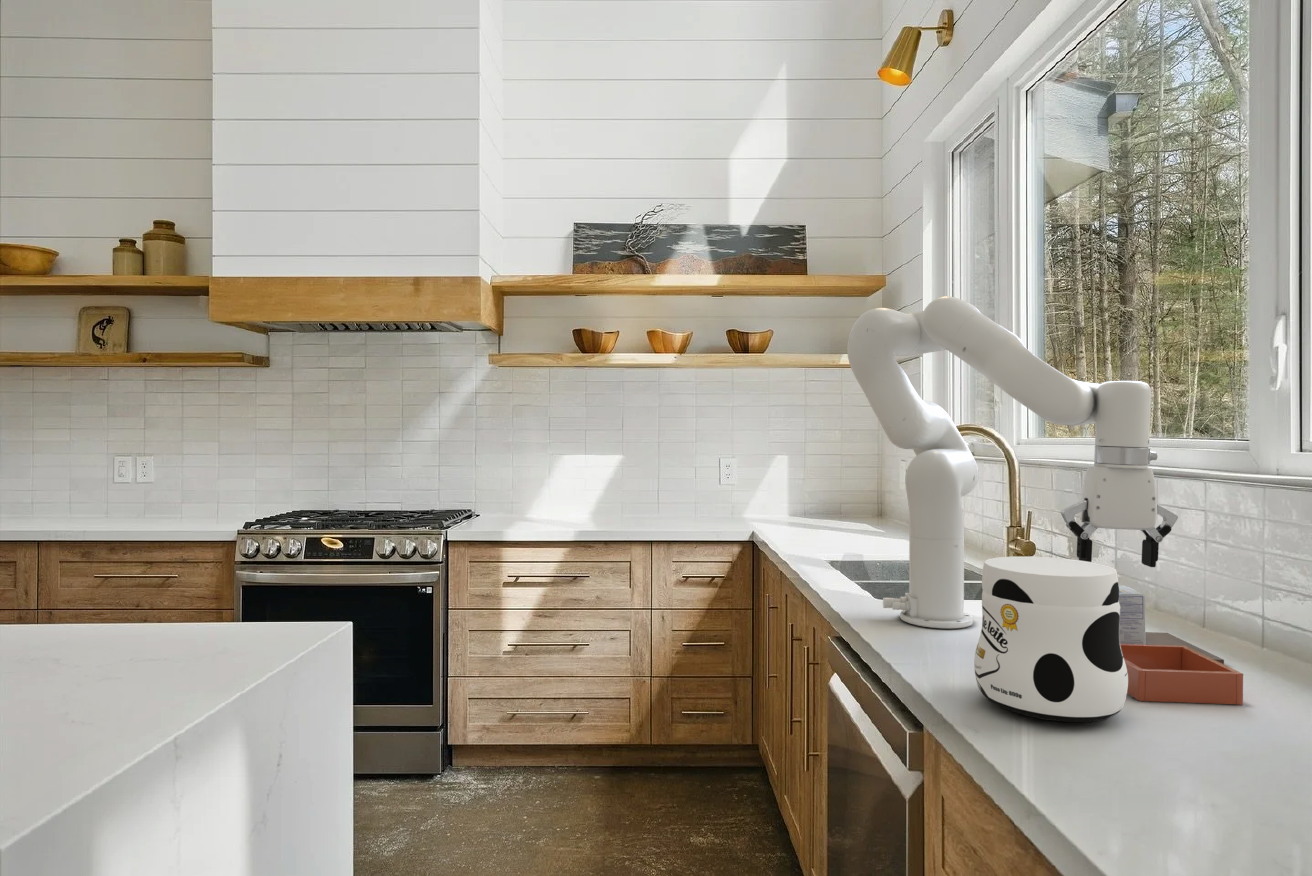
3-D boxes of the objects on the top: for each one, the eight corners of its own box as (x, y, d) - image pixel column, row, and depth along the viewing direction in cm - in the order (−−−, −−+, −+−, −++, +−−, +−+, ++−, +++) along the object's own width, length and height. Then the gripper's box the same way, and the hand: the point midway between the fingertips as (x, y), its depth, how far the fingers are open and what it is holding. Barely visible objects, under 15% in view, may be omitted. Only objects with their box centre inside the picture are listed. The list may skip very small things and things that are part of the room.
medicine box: (1146, 650, 123) (1146, 594, 123) (1114, 648, 124) (1115, 593, 124) (1126, 637, 131) (1126, 584, 131) (1097, 636, 132) (1097, 583, 132)
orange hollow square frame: (1138, 700, 103) (1138, 670, 103) (1092, 669, 116) (1092, 642, 116) (1243, 704, 101) (1243, 673, 101) (1184, 672, 115) (1184, 645, 115)
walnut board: (1069, 661, 121) (1069, 654, 121) (1031, 634, 137) (1031, 628, 137) (1224, 666, 118) (1224, 659, 118) (1167, 638, 134) (1167, 632, 134)
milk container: (944, 696, 105) (945, 559, 104) (1040, 679, 111) (1040, 551, 111) (1057, 743, 89) (1058, 582, 88) (1161, 721, 96) (1162, 572, 95)
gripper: (1166, 458, 130) (1161, 562, 130) (1055, 455, 132) (1051, 557, 132) (1191, 461, 123) (1186, 571, 123) (1073, 457, 124) (1069, 566, 125)
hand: (1116, 564), depth 128 cm, fingers open, 9 cm apart
